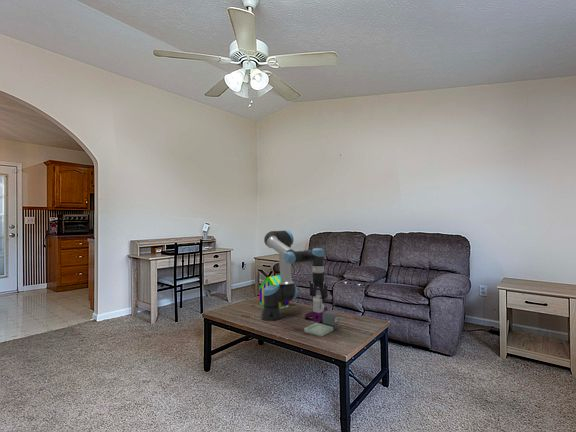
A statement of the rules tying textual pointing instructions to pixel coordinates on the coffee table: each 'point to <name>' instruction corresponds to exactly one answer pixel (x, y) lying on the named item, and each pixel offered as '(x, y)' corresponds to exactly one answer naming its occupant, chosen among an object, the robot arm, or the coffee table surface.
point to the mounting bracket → (317, 315)
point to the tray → (318, 329)
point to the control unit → (330, 319)
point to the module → (317, 304)
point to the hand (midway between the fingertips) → (318, 307)
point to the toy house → (269, 281)
